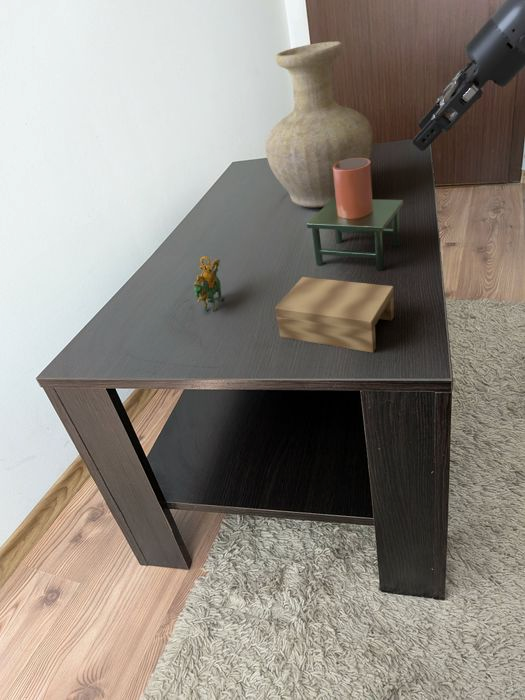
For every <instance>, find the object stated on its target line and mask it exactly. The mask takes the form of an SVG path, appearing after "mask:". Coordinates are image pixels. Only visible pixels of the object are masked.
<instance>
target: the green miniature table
mask: <svg viewBox="0 0 525 700" xmlns="http://www.w3.org/2000/svg"><path fill="white" fill-rule="evenodd" d="M403 206H404V199H373V211H372V213H371V214H369V215H367V216H365V217H361V218H356V219H345V218H341V217H339V216H338V215H337V207H336V199H332V200H331V201H330V202H328V203H327V204H326V205H325V206H324V207H321V209H320V210H319V211H318V212H317V213H316V214H315V215H314V216H313V217H312V218H311V219H310V220H309V221H308V222H307V223H306V227H307V229H311V233H312V240H313V248H314V256H315V263H316V266H322V265H324V259H323V258H324V257H323V255H324V256H335V257H349V258H361V259H373V260H375V267H376V268H375V269H376V271H377V272H382V271H384V269H385V267H384V266H385V265H384V263H385V262H384V242H383V235H386V236H392V246H393V247H395V248H399V247H400V246H401V225H400V224H401V222H400V221H401V220H400V219H401V217H400V215H401V214H400V209H401V208H402V207H403ZM391 221H392V228H386V227H387V226H388V225H389V224H390V222H391ZM320 230H334V236H335V244H340V243H341V244H342V243H343V233H346V234H363V235H364V234H365V235H374V249H375V252H374V251H361V250H349V249H348V250H346V249H335V248H334V249H333V248H322V243H321V234H320Z"/></svg>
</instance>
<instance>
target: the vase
mask: <svg viewBox="0 0 525 700" xmlns="http://www.w3.org/2000/svg"><path fill="white" fill-rule="evenodd" d="M343 47H344V45H343V43H342V42H341V41H335V40H334V41H324V42H323V41H322V42H317V43H312V44H306V45H305V44H304V45H301V46H297V47H292V48H289V49H286V50H283V51H281V52H278V53H277V54H275V62H276V64H277V65H278V67H280V68H283V69H285V70H287V71H288V73H289V75H290V78H291V87H292V94H293V95H292V96H293V109H292V111H291V112H290V113H289V114H287V116H285V117H284V118H282V119H281V120H280V121H278V122H277V123H276V124H275V125H274V126H273V128H272V129H271V130H270V131H269V132H268V134H267V136H266V138H265V139H266V140H265V154H266V158H267V162H268V165H269V167H270V169H271V171H272V173H273V175H274V176H275V177H276V179H277V181H278V182H279V183H280V184H281V185H282V187H283V188H284V189H285V190H286V191H287V193H288V195H289V196H290V200H291V201H292V202H293V203H294V204H295V205H297V206H300V207H305V208H323V207H324V206H325V205H326V204H327V203H328V202H330V201H331V200H332V199H336V197H335V187H334V176H333V165H334V164H336V163H337V162H339V161H342V160H346V159H351V158H366V159H369V160H370V158H371V155H372V154H371V153H372V147H373V139H374V134H373V132H374V131H373V127H372V124H371V123H370V121H369V120H368V118H367V117H366V116H365V115H364V114H362V113H361V112H359V111H357V110H356V109H353V108H351V107H348V106H343V105H340V104H339V103H337V101H336V99H335V96H334V95H335V93H334V87H333V77H332V76H333V75H332V64H333V62H334V61H335V59H337V58H338V57H339V56H340V55H341V54H342V51H343Z"/></svg>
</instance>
